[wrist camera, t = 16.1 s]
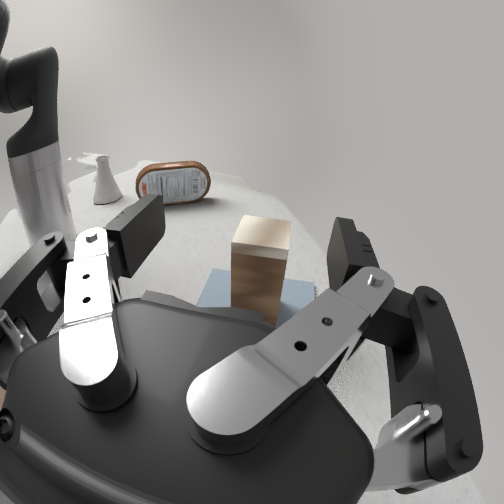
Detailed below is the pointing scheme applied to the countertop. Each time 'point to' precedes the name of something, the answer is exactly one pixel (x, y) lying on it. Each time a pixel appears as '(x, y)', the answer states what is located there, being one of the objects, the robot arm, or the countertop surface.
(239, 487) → the robot arm
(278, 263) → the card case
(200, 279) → the countertop surface
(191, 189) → the tin
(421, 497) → the countertop surface
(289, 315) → the mat
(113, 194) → the flask
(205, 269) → the countertop surface
